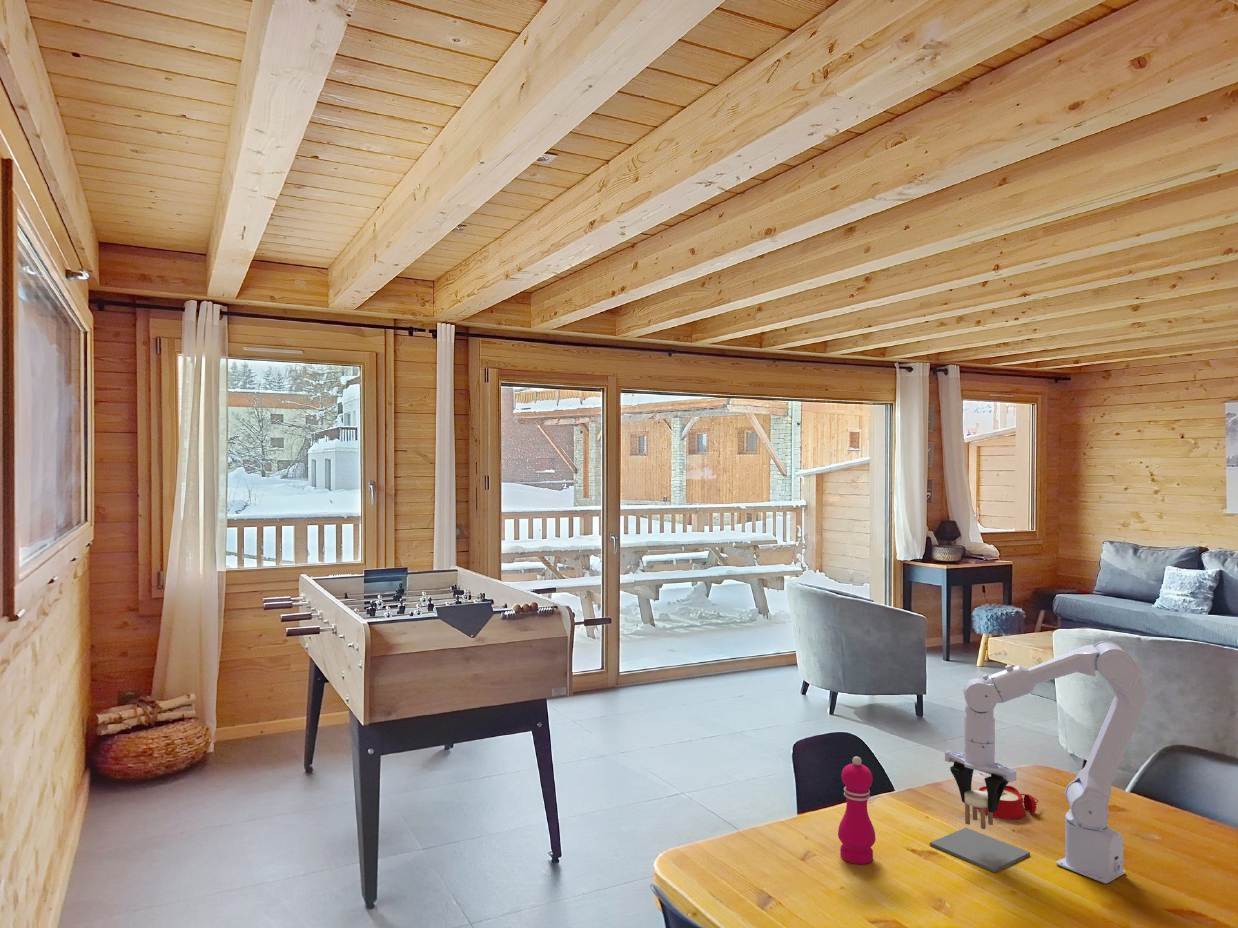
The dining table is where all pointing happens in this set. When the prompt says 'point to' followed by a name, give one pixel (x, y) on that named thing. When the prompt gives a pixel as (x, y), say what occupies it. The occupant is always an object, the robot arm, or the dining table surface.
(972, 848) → the mat
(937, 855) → the dining table surface
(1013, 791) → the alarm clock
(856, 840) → the pepper mill
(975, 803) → the stool
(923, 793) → the dining table surface
